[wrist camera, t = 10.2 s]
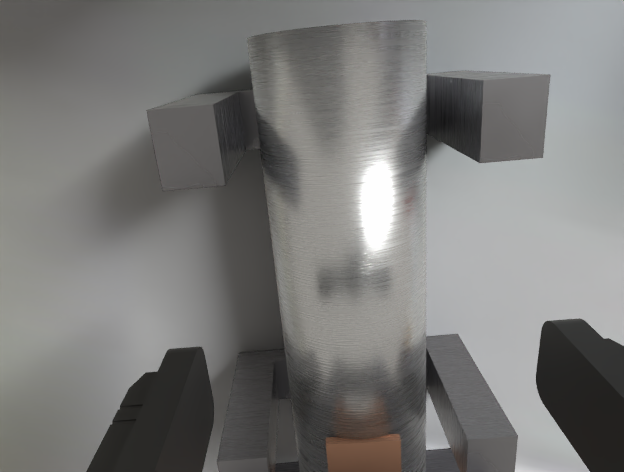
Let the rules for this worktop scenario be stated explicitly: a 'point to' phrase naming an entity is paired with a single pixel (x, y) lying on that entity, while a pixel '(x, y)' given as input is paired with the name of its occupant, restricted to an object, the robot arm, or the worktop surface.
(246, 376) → the grey u-shaped bracket
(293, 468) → the frame
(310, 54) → the tube
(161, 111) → the grey metal blocks
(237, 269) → the worktop surface
